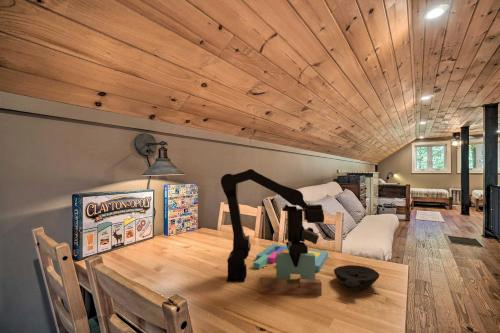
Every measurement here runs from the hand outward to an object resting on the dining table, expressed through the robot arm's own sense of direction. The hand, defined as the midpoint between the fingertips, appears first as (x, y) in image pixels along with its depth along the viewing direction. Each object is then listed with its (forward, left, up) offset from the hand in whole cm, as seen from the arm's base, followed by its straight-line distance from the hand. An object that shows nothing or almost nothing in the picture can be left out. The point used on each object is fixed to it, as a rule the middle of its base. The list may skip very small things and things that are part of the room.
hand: (295, 265), depth 90 cm
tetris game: (0, +18, -6) cm, 19 cm away
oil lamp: (+20, -5, -6) cm, 21 cm away
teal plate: (0, 0, -5) cm, 5 cm away
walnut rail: (-3, -10, -5) cm, 12 cm away
